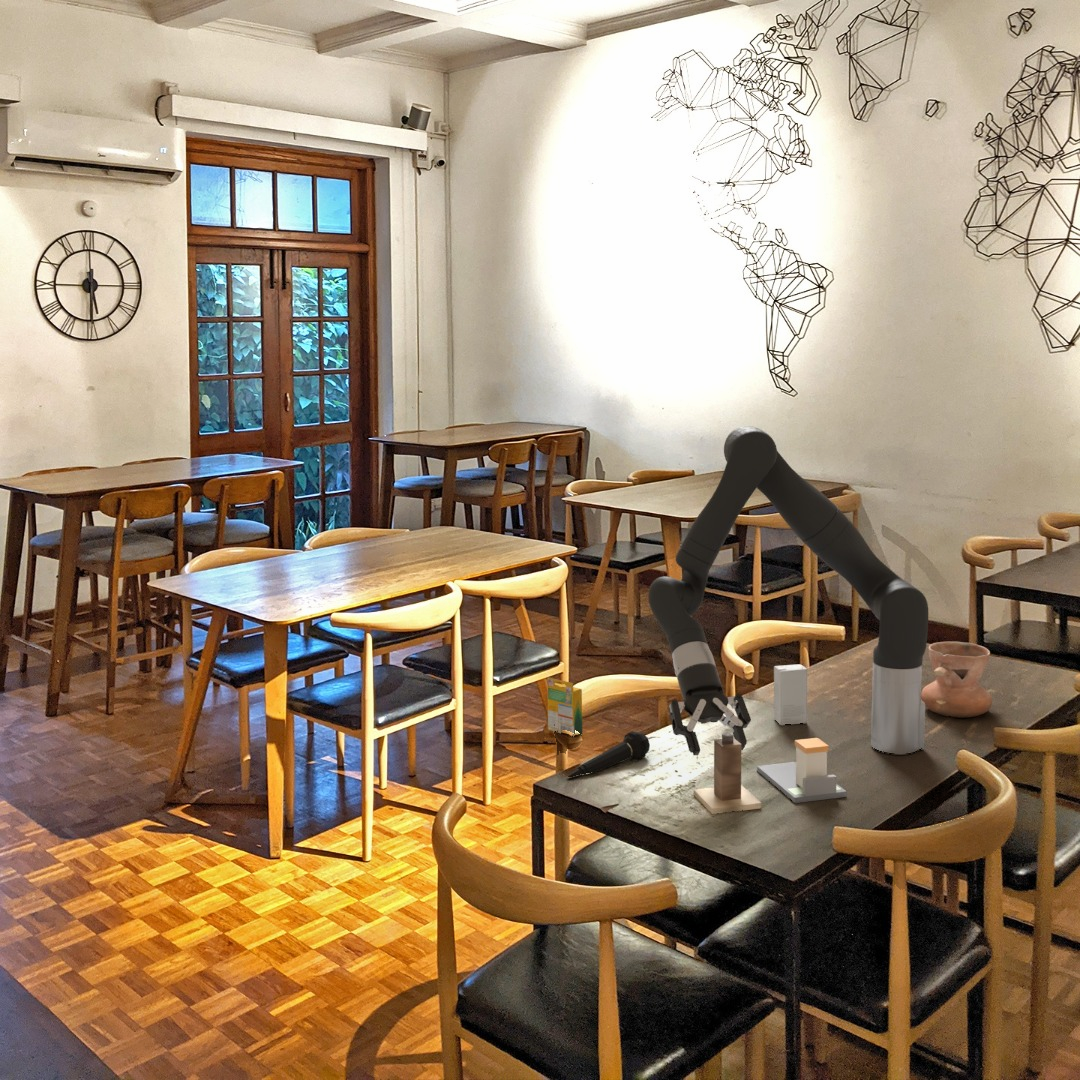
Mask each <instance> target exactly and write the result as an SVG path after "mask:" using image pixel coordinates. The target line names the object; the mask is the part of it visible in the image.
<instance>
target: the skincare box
mask: <svg viewBox="0 0 1080 1080" xmlns="http://www.w3.org/2000/svg"><path fill="white" fill-rule="evenodd" d="M773 719H774V721H775V720H776V721H777V722H778V723H779V724H778V723H777V722H776V721H775V722H776V723H777V724H778V725H780V726H786V725H785V724H791V725H801V724H800V723H803V724H807V723H808V668H806V667H805V666H804V665H802V664H800V663H799V664H786V665H785V664H784V665H775V666H773Z"/></svg>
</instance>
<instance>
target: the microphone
mask: <svg viewBox="0 0 1080 1080" xmlns="http://www.w3.org/2000/svg"><path fill="white" fill-rule="evenodd" d="M623 737H624V739H623V741H622V742H620V743H618V744H616V745H615V746H613V747H611V748H609V749H607V750H606V751H603V752H602V753H600V754H598V755H597V756H594V757H593V758H591V759H589V760H587V761H586V762H584V763H582V764H581V765H579V766H578V768H576V769H575V770H574V771H572V772H571V773H569V774H568V775H567V776H568V777H573V776H576V775H580V774H586V773H591V772H594V773H596V772H595V771H597V772H599V771H601V769H602V770H604V769H606V768H609V767H612V766H615V765H617V764H619V763H621V762H624V761H627V760H629V759H630V758H631V759H633V760H643V758H646V755H647V754H648V753H649V751H650V747H651V746H650V741H649V738H648V737H647V736H646V735H645V733H642V732H639V731H629V732H628V733H626V734H625V735H624V736H623ZM598 770H599V771H598ZM591 774H592V773H591Z"/></svg>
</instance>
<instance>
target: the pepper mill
mask: <svg viewBox="0 0 1080 1080" xmlns="http://www.w3.org/2000/svg"><path fill="white" fill-rule="evenodd" d="M713 740H714V741H713V754H714V755H713V787H714V794H715V795H716V796H717V797H718V798H719V799H720V800H721V801H726V800H734V799H741V785H742V750H741V743H739V742H738V741H737V740H736V739H734V735H733V733H726V732H725V733H722V734H721V738H718V739H717V738H716V739H713Z"/></svg>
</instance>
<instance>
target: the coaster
mask: <svg viewBox="0 0 1080 1080" xmlns="http://www.w3.org/2000/svg"><path fill="white" fill-rule="evenodd" d="M693 796H695V798H696V799H697V800H698V801H699V802H700V803H701V804H702V805H703V806H704V807H705V808H706V809H707V810H708V812H710V814H712V815H717V813H719V814H724V813H723V812H727V813H733V812H732V811H735V812H741V811H742V810H743V811H748V810H758V809H762V802H761V801H760V800H759V799H758V798H757V797H755V795H753V794H752V793H751V792H750V791H749V790H748V789H747V788H745V787H744V786H743V784H741V799H734V800H726V801H721V800H720V799H719V798H718V797H717V796H716V795H715V794H714V786H713V787H705V788H696V789H693Z"/></svg>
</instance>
